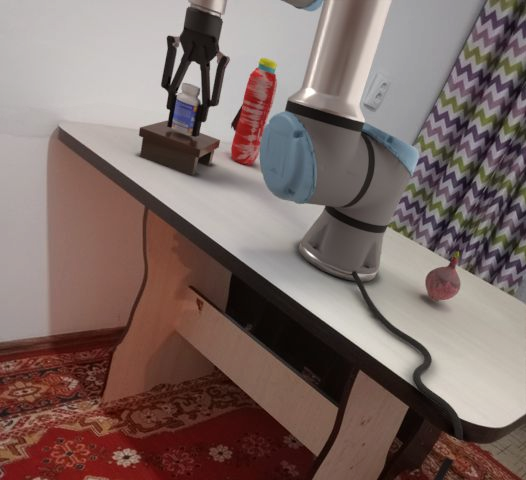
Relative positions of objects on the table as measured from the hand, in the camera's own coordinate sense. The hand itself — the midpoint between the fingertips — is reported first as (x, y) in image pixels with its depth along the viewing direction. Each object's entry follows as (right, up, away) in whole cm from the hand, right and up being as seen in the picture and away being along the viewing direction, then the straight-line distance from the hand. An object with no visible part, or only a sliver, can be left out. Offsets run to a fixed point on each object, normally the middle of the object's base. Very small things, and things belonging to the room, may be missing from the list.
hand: (183, 130), depth 106 cm
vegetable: (+50, -42, -20) cm, 68 cm away
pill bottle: (0, 0, 0) cm, 1 cm away
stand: (-2, -5, +4) cm, 7 cm away
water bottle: (+12, +2, +22) cm, 25 cm away
